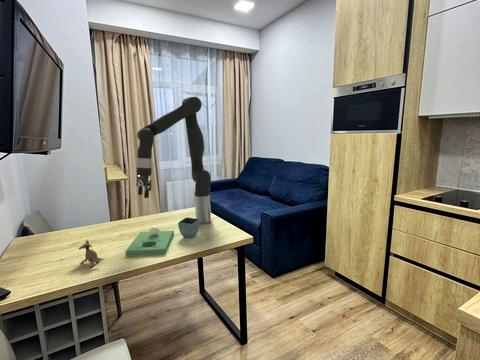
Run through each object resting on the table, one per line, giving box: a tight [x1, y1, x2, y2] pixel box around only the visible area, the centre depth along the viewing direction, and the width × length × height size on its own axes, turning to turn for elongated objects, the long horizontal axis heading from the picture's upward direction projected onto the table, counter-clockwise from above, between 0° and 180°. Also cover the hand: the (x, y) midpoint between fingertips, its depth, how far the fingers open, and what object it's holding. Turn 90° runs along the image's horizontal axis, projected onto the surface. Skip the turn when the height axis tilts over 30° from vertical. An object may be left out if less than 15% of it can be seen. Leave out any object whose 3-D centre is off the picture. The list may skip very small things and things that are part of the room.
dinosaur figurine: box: [78, 239, 105, 268], centre depth 110 cm, size 14×6×9 cm, turn 57°
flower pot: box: [177, 216, 200, 239], centre depth 136 cm, size 9×9×9 cm
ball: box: [148, 225, 160, 235], centre depth 133 cm, size 5×5×5 cm
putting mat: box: [125, 230, 175, 257], centre depth 128 cm, size 18×22×2 cm
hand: (143, 196), depth 137 cm, fingers open, 8 cm apart
